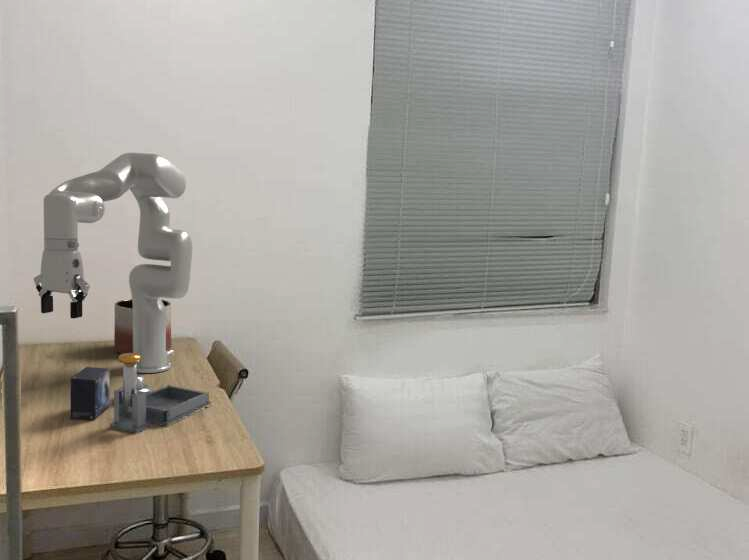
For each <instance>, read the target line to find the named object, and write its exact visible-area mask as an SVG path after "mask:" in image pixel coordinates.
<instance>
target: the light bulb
mask: <svg viewBox="0 0 749 560" xmlns="http://www.w3.org/2000/svg"><path fill="white" fill-rule="evenodd" d="M140 360H141V355H140V354H137V353H124V354H121V353H120V354H119V355H118V362H120V363H121V364H123V365H122V367H123V368H122V370H123V371H122V377H123V379H122V381H123V382H122V386H123V406H124V407H132V394H134V393H137V375H138V372H137V362H139V361H140Z"/></svg>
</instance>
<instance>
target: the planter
mask: <svg viewBox="0 0 749 560" xmlns="http://www.w3.org/2000/svg"><path fill="white" fill-rule="evenodd" d="M161 300H162V302H163V304H164V306H165V310H166V351H169V350H171V347H172V313H171V312H172V311H171V309H172V303H171V302H170V301H168V300H166V299H161ZM113 338H114V341H113V342H114V350H115V351H116V352H118V353H119V354H120V355H121V354H124V353H133V303H132V298H129V299H122V300H119V301H116V302H114V337H113Z"/></svg>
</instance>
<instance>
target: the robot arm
mask: <svg viewBox="0 0 749 560" xmlns="http://www.w3.org/2000/svg"><path fill="white" fill-rule="evenodd" d="M186 187H187V180H186V177H185V175H184V173H183V172H182V170H180V169H179V168H178V167H177V166H176V165H175V164H173V163H172V162H171V161H169V160H168V159H166V158H165V157H163V156H162V155H159V154H156V153H146V152H145V153H144V152H125V153H122V154H121V155H119V156H117V157H116V158H115V159H113V160H112V161H111V162H109V163H108V164H106V165H105V166H104V167H103V168H101V169H100V170H97V171H95V172H94V171H93V172H90V173H87V174H84V175H81V176H77V177H74V178H71V179H68V180H66V181H64V182H61V183H60V184H58V185H57V186H56V187H55V188H53V189H52V190H51V191H50V192H48V194H46V195H45V196H44V197H43V251H42V256H41V264H40V274H38V275H36V276H34V277H33V281H34V284H35V288H36V289H35V290H36V291H37V292H38V296H39V297H40V312H41V314H47V313H52V312H54V295H52V294H53V293H54V292H55V293H59V294H68V296H69V297H70V299H71V301H70V302H69V303H70V304H69V305H70V306H69V307H70V308H69V309H70V310H69V312H70V315H69V316H70V318H71V319H79V318H82V317H83V302H84V301H85V299H86V297H87V296H88V292H89V291H90V287H91V285H90V283H88V282H87V281H86V280H85V275H84V267H83V266H84V265H83V260H82V254H81V251H79V249H78V248H79V246H80V243H79V242H78V241H79V239H78V224H79V223H80V224H93V223H96V222H99V221H100V220H101V219H102V218H103V216H104V214H105V212H106V205H105V202H108V201H109V202H110V201H113V200H117V199H119V198H121V197H122V196H123V195H124V194H126V192H128V191H129V190H130V192H131V193H132V195H133V197H134V198H135V201H136V202H137V204H138V207H139V227H138V236H137V252H138V254H139V256H140V257H141V258H142V259H143V258H144V259H147V260H150V261H160V262H161V261H164V262H169V263H170V265H162V264H154V263H153V264H152V263H142V264H138V265H136V266H133V268H132V269H131V271H130V273H129V275H128V277H129V278H128V284H129V289H130V294H131V299H132V303H133V353H137V354H140V355H141V360H140V361H139V362H137V374H138V373H140V374H143V373H144V374H155V373H161V372H166V371H168V370H170V369H171V367H172V363H171V362H170V361H169V360H168V358H169V357H170V358H171V357H172V356H175V350H174V349H169V350H168V351H166V310H165V306H164V304H163V302H162V300H163V299H161V298H165V299H173V300H174V299H176V300H178V299H181V298H184V297H185V296H186V295H187V293H188V290H189V287H190V280H191V279H190V278H191V269H192V256H193V242H192V238H191V236H190V234H189V233H188V232H186V231H185V230H181V229H176V228H175V229H174V228H173V229H172V228H170V221H171V220H170V219H171V211H170V208H169V207H168V205H167V202H166V201H165V200H164V199H178V198H180V197H181V196H183V195H184V193H185V192H186V189H187V188H186Z"/></svg>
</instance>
